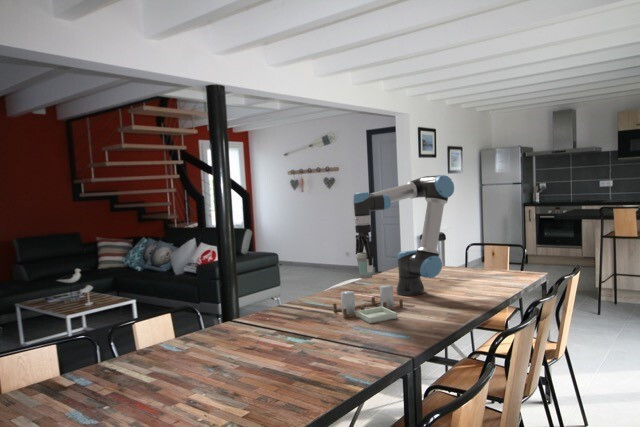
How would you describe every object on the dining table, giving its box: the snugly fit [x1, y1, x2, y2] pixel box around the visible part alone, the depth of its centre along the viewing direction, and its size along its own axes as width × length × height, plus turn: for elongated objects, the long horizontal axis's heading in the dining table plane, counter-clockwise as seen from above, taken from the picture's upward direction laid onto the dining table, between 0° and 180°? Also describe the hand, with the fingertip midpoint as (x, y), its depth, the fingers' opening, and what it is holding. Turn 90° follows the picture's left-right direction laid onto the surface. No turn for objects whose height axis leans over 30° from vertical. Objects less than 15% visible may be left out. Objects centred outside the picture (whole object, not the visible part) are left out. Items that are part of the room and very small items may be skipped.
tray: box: [355, 305, 398, 324], centre depth 220 cm, size 14×14×2 cm
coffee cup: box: [356, 251, 374, 280], centre depth 232 cm, size 8×9×12 cm
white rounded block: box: [379, 284, 395, 308], centre depth 237 cm, size 6×6×10 cm
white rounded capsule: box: [340, 290, 356, 315], centre depth 230 cm, size 6×6×10 cm
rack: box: [332, 296, 404, 319], centre depth 234 cm, size 32×14×4 cm, turn 111°
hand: (365, 270), depth 233 cm, fingers closed on coffee cup, 9 cm apart
